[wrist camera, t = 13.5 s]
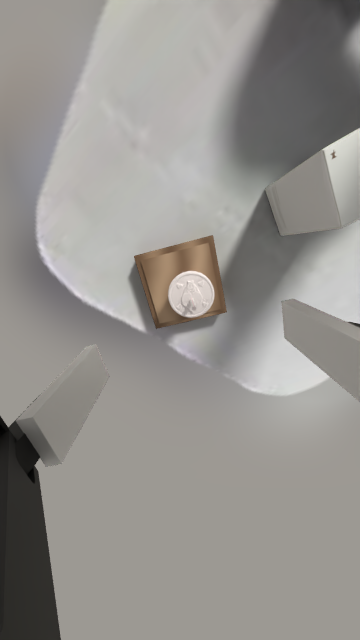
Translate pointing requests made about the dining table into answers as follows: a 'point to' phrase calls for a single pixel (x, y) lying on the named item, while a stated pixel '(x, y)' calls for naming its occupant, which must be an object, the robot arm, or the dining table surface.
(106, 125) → the dining table surface
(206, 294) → the smoothie
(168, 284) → the walnut tray
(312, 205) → the supplement box
